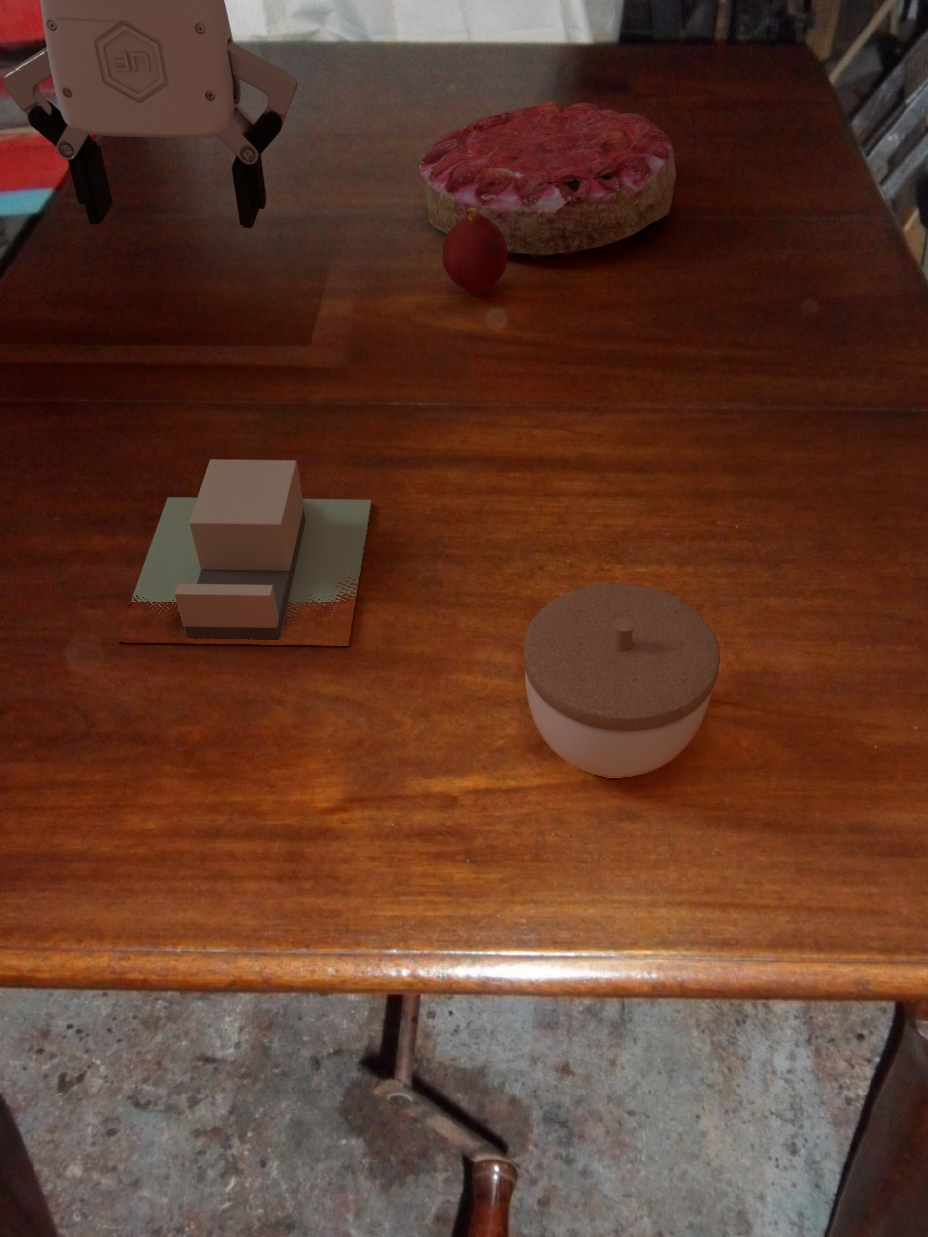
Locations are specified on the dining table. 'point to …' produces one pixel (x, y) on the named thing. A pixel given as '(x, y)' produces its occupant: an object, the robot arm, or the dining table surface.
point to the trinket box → (619, 677)
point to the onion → (474, 253)
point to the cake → (552, 176)
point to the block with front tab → (243, 550)
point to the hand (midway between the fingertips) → (176, 216)
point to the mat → (320, 563)
